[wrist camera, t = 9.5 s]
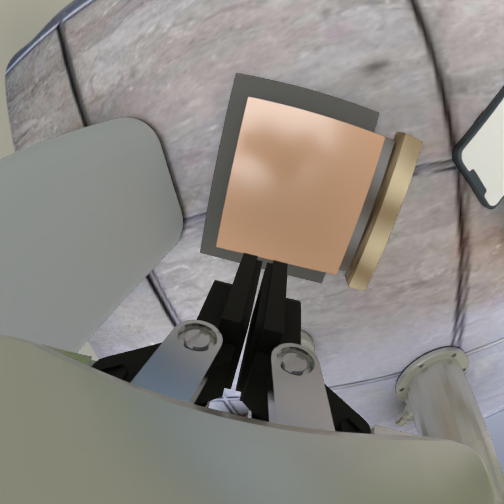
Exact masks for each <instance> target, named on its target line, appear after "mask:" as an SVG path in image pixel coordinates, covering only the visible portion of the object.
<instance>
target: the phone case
mask: <svg viewBox="0 0 504 504" xmlns="http://www.w3.org/2000/svg"><path fill="white" fill-rule="evenodd" d="M453 160H454V162H455V164H456V165H457V167H458V168H459V170H460V171H461V173H462V174H463V176H464V177H465V179H466V180H467V182H468V183H469V185H470V186H471V188H472V189H473V191H474V193H475V194H476V196H477V197H478V199H479V201H480V202H481V204H482V205H483V206H484V207H486V208H488V209H494V208H495V207H496V206H497V205H498V204H499V203H500V201H501V200H502V199H503V198H504V86H503V87H502V89H501V90H500V91H499V93H498V94H497V95H496V97H495V98H494V99H493V100H492V102H491V103H490V104H489V106H488V107H487V108H486V109H485V111H484V112H483V113H482V114H481V116H480V117H479V118H478V119H477V121H476V122H475V123H474V124H473V126H472V127H471V128H470V129H469V130H468V132H467V133H466V134H465V135H464V137H463V138H462V139H461V140H460V141H459V142H458V144H457V145H456V146H455V148H454V150H453Z"/></svg>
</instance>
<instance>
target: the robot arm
mask: <svg viewBox="0 0 504 504" xmlns="http://www.w3.org/2000/svg"><path fill="white" fill-rule="evenodd" d="M257 258H258V256H256V255H252V254H248V253H244V254H243V256H242V259H241V262H240V265H239V268H238V271H237V273H236V276H235V279H234V282H233V284H229V283H225V282H221V281H217V280H215V281H214V283H213V285H212V287H211V289H210V292H209V294H208V296H207V298H206V300H205V303H204V305H203V307H202V309H201V311H200V314H199V316H198V318H197V320H187V321H184V322H181V323H179V324H178V325H177V326H176V327H175V328H174V329H173V330H172V331H171V332H170V334H169V335H168V336H167V337H166V339H165V340H164V341H163V342H162V343H159V344H155V345H151V346H147V347H144V348H140V349H136V350H132V351H128V352H124V353H120V354H116V355H112V356H108V357H105V358H102V359H99V360H98V361H94V360H92V357H91V356H87V355H82V354H78V353H74V352H69V351H65V350H61V349H57V348H54V347H50V346H46V345H43V344H37V343H34V342H32V341H28V340H25V339H21V338H18V337H13V336H6V335H0V504H504V475H503V472H502V470H501V467H500V464H499V462H498V459H497V456H496V453H495V450H494V447H493V444H492V441H491V439H490V436H489V433H488V430H487V427H486V425H485V422H484V419H483V417H482V414H481V412H480V409H479V407H478V404H477V402H476V399H475V397H474V395H473V392H472V390H471V388H470V385H469V383H468V381H467V379H466V377H465V373H466V371H467V368H468V358H467V356H466V354H465V352H464V351H463V350H461V349H459V348H455V347H446V348H441V349H437V350H434V351H432V352H430V353H427V354H425V355H424V356H422V357H420V358H419V359H417V360H416V361H414V362H413V363H412V364H411V365H410V366H408V367H407V368H406V369H405V371H404V372H403V373H402V374H401V376H400V377H399V379H398V381H397V384H396V391H397V395H398V397H399V399H400V400H402V401H403V402H406V406H405V408H404V411H403V412H402V413H401V414H400V415H399V416H398V417H397V418H396V420H395V422H396V424H397V425H399V426H403V425H404V424H405V423H406V422H407V421H408V420H409V419H410V417H412V419H413V420H414V421H415V424H416V428H417V432H418V435H414V434H409V433H405V432H401V431H397V430H393V429H389V428H385V427H381V426H377V425H375V426H374V427H373V428H372V427H369V425H368V423H367V422H366V421H365V420H364V419H363V418H362V417H361V416H360V415H359V414H357V413H356V412H355V411H354V410H353V409H352V408H351V407H350V406H348V405H347V404H346V403H345V402H344V401H343V400H342V399H341V398H340V397H338V396H337V395H336V394H335V393H334V392H333V391H332V390H331V389H330V388H329V387H327V386H326V385H325V384H324V380H323V376H322V372H321V368H320V364H319V361H318V359H317V357H316V355H315V354H314V353H313V352H312V351H311V350H309V349H308V348H306V347H304V346H302V345H301V303H300V301H297V300H293V299H289V298H286V286H287V267H288V263H284V262H280V261H276V260H273V263H268V262H267V264H266V268H265V271H264V275H263V279H262V282H261V286H260V290H259V293H258V297H257V301H256V304H255V308H254V311H253V315H252V319H251V323H250V327H249V331H248V336H247V341H246V345H245V350H244V354H243V359H242V364H241V368H240V373H239V377H238V382H237V386H236V391H240V392H241V396H240V401H242V402H243V403H244V404H245V405H246V406H247V407H248V409H249V412H248V417H243V416H239V415H234V414H230V413H226V412H222V411H218V410H214V409H210V408H208V407H209V403H210V401H211V400H213V399H216V398H218V397H221V396H222V395H223V391H224V388H228V389H231V386H232V383H233V379H234V376H235V372H236V369H237V365H238V362H239V358H240V355H241V351H242V348H243V344H244V340H245V337H246V333H247V330H248V326H249V322H250V317H251V313H252V308H253V303H254V299H255V294H256V290H257V285H258V280H259V276H260V271H261V266H262V262H263V261H260V260H257Z"/></svg>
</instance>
